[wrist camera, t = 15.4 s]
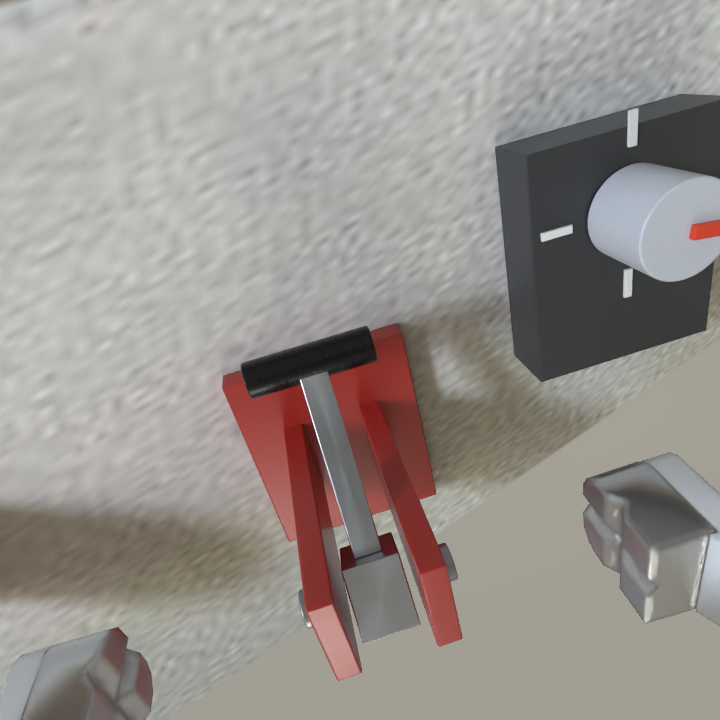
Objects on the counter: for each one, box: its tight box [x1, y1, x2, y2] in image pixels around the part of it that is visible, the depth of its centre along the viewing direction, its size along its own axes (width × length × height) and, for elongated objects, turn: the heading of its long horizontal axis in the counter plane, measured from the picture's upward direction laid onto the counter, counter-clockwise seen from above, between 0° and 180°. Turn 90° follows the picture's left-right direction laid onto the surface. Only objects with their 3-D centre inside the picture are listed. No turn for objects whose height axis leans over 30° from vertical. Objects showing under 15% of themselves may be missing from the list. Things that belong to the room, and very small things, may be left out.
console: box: [495, 94, 720, 382], centre depth 25 cm, size 12×9×3 cm
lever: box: [241, 326, 420, 644], centre depth 20 cm, size 11×5×2 cm, turn 13°
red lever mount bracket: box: [222, 324, 462, 681], centre depth 24 cm, size 11×9×12 cm
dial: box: [588, 162, 720, 282], centre depth 21 cm, size 4×4×4 cm
